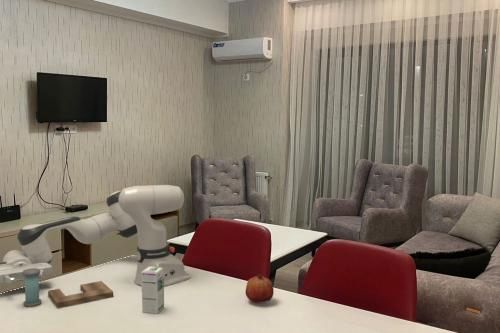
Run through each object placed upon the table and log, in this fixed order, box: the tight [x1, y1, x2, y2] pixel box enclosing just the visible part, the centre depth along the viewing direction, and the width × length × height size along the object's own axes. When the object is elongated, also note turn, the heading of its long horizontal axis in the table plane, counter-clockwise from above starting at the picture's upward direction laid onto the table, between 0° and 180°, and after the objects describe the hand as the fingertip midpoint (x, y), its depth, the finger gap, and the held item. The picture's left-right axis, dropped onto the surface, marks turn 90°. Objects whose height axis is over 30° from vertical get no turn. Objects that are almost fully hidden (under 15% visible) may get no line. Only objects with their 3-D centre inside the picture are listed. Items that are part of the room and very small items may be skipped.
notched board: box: [47, 280, 114, 309], centre depth 172 cm, size 20×14×2 cm
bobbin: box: [23, 268, 42, 308], centre depth 164 cm, size 6×6×12 cm
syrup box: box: [141, 267, 165, 315], centre depth 160 cm, size 6×6×14 cm
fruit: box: [245, 273, 274, 304], centre depth 169 cm, size 11×10×10 cm
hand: (26, 279), depth 170 cm, fingers open, 8 cm apart
